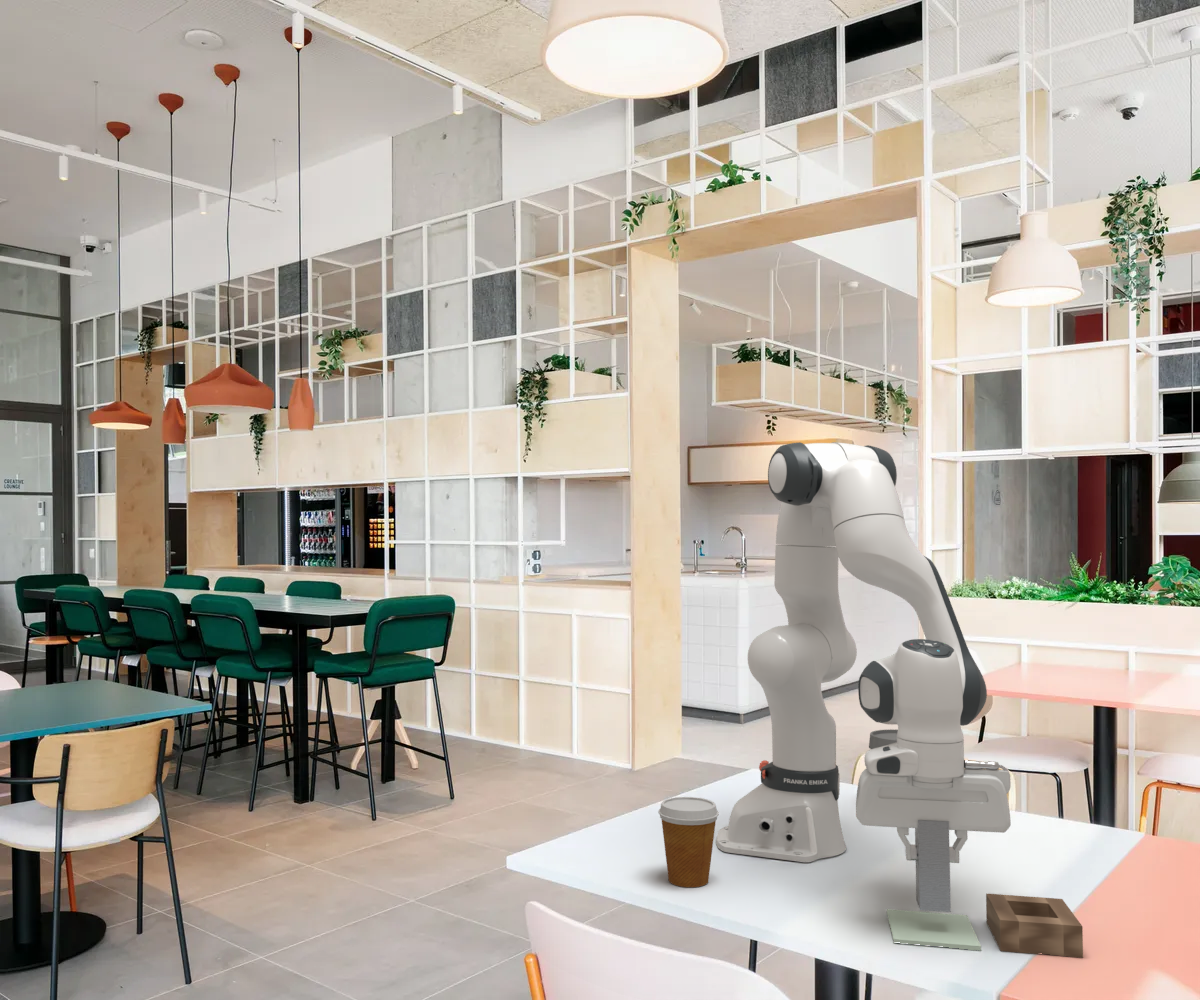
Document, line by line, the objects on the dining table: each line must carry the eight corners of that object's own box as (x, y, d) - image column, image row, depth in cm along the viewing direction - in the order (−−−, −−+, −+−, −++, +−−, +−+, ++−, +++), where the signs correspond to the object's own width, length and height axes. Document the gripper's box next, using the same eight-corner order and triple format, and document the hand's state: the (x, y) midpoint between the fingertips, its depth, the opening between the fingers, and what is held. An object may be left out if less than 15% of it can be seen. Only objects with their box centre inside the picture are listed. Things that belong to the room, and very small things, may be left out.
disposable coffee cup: (654, 871, 159) (654, 796, 159) (712, 870, 160) (712, 795, 160) (662, 892, 149) (663, 812, 150) (724, 890, 150) (724, 811, 151)
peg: (919, 910, 133) (918, 820, 134) (916, 899, 137) (914, 812, 138) (950, 912, 132) (948, 822, 133) (946, 901, 136) (944, 814, 137)
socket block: (1000, 951, 128) (1000, 919, 129) (986, 922, 138) (986, 893, 138) (1082, 957, 126) (1082, 926, 127) (1062, 928, 136) (1062, 898, 136)
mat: (893, 943, 131) (893, 939, 131) (886, 913, 141) (886, 909, 141) (981, 950, 128) (981, 946, 128) (967, 919, 139) (967, 915, 139)
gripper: (1005, 757, 137) (1007, 857, 136) (854, 751, 141) (855, 849, 140) (1015, 767, 131) (1017, 872, 130) (856, 760, 135) (858, 863, 134)
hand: (932, 860), depth 135 cm, fingers closed on peg, 4 cm apart
